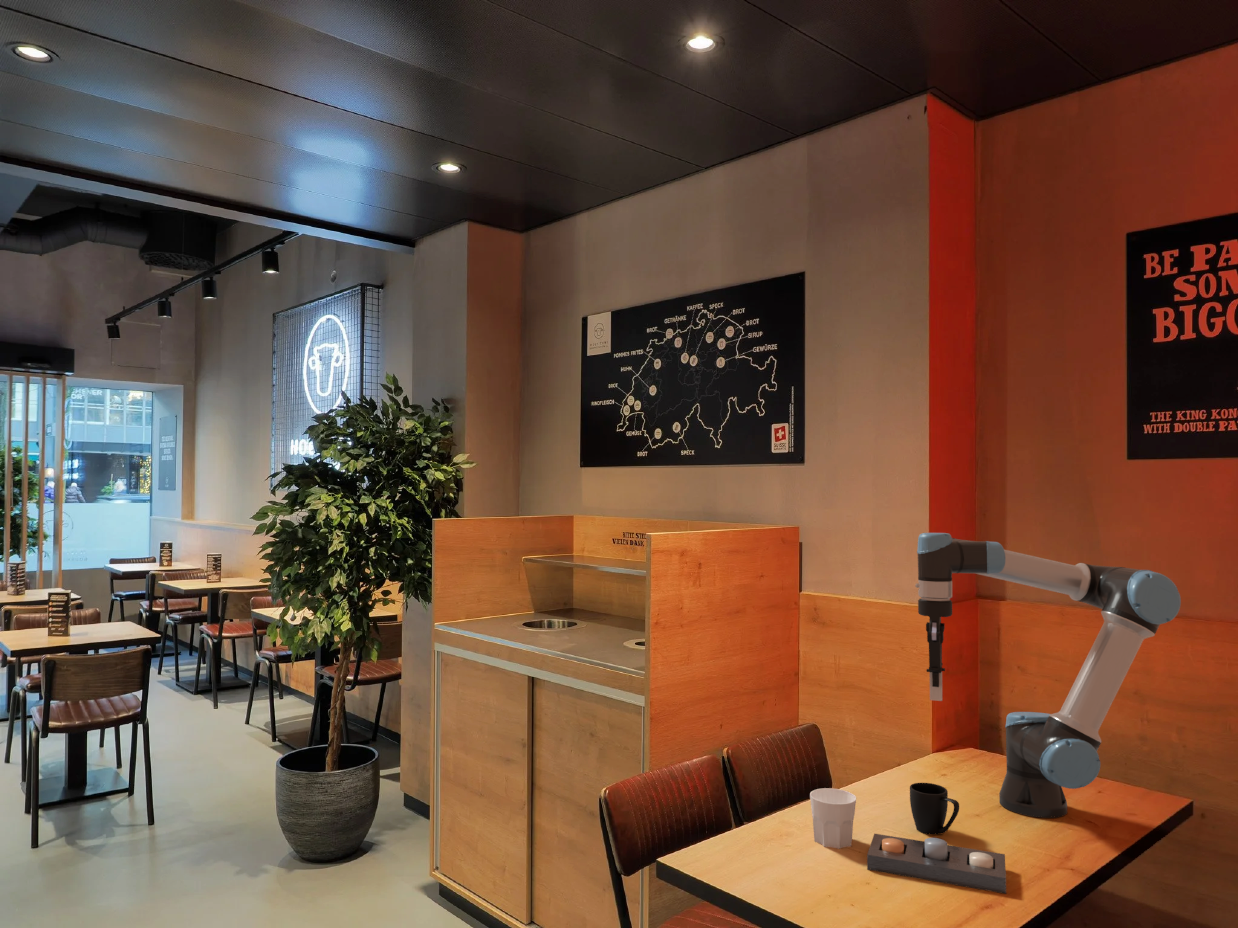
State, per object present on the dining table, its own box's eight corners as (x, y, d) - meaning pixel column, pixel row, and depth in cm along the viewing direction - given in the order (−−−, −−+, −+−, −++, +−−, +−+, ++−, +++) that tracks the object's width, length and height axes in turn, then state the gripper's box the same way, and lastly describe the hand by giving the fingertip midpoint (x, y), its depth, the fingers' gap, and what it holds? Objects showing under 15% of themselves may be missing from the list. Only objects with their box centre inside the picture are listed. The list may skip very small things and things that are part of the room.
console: (1005, 868, 173) (1004, 853, 173) (1006, 893, 162) (1006, 877, 163) (874, 847, 184) (874, 833, 184) (867, 869, 173) (867, 854, 173)
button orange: (904, 857, 178) (904, 839, 178) (903, 865, 174) (902, 847, 174) (883, 853, 179) (883, 836, 180) (880, 861, 175) (880, 844, 176)
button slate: (948, 857, 174) (947, 839, 174) (947, 865, 170) (946, 847, 170) (925, 853, 176) (925, 836, 176) (924, 861, 172) (923, 844, 172)
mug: (944, 845, 185) (943, 802, 185) (902, 826, 195) (902, 785, 196) (969, 838, 189) (969, 795, 189) (927, 820, 199) (926, 780, 200)
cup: (857, 835, 190) (857, 791, 191) (855, 852, 181) (854, 806, 181) (812, 829, 194) (812, 786, 194) (807, 846, 184) (807, 800, 185)
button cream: (993, 872, 171) (993, 854, 171) (993, 881, 167) (993, 862, 167) (969, 868, 173) (969, 850, 173) (969, 876, 169) (969, 858, 169)
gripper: (920, 594, 205) (921, 692, 204) (916, 600, 193) (917, 704, 192) (953, 596, 202) (954, 695, 201) (951, 602, 190) (952, 707, 189)
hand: (936, 699), depth 196 cm, fingers closed
